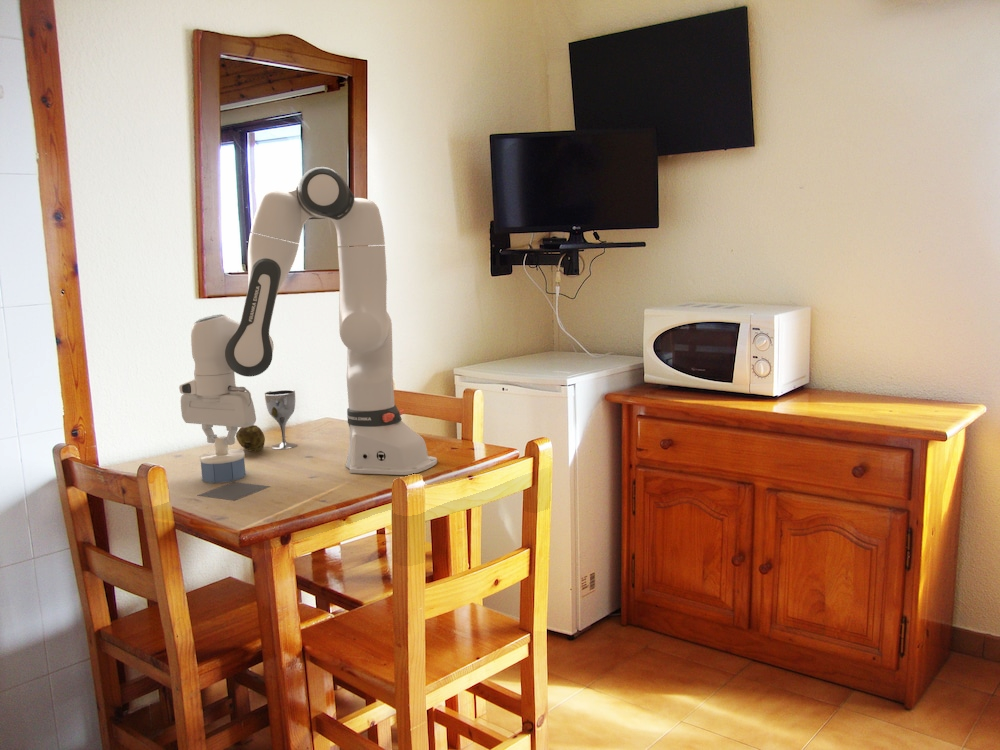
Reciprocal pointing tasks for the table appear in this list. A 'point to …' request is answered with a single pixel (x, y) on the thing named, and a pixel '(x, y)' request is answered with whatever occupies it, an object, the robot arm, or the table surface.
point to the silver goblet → (281, 411)
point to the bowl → (223, 471)
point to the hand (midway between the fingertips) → (221, 443)
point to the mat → (233, 491)
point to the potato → (251, 438)
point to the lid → (221, 453)
